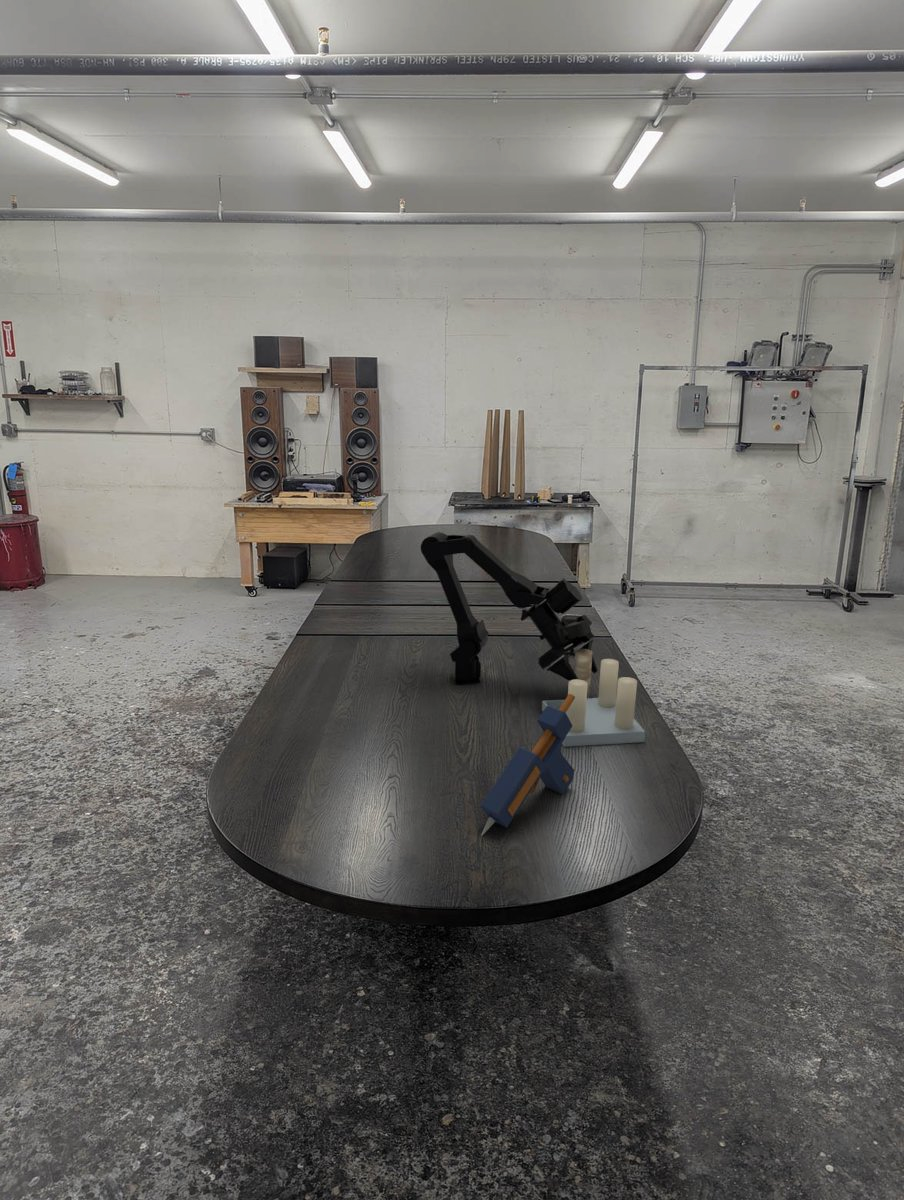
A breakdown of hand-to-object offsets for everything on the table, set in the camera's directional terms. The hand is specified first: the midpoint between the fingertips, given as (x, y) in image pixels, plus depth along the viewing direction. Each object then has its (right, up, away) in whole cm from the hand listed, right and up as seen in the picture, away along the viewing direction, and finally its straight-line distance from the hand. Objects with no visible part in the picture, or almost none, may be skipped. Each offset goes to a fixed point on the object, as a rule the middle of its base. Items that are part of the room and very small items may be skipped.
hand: (587, 678), depth 176 cm
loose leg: (-1, -6, +3) cm, 7 cm away
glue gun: (-18, -19, -41) cm, 49 cm away
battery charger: (+1, +3, +34) cm, 34 cm away
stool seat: (-1, -10, -9) cm, 14 cm away
